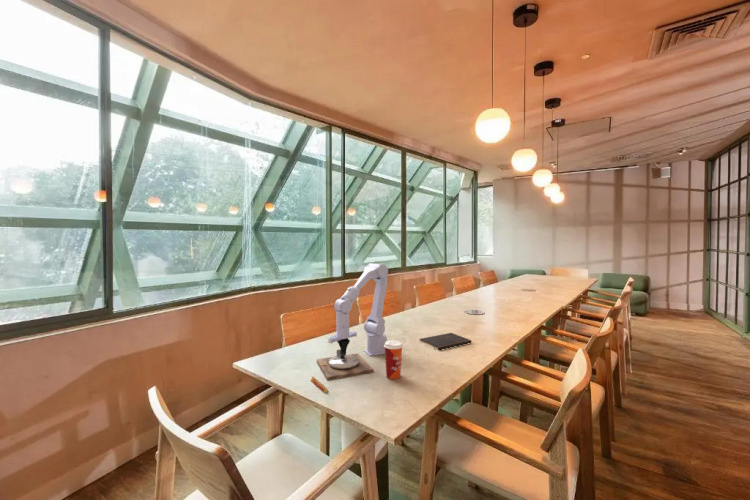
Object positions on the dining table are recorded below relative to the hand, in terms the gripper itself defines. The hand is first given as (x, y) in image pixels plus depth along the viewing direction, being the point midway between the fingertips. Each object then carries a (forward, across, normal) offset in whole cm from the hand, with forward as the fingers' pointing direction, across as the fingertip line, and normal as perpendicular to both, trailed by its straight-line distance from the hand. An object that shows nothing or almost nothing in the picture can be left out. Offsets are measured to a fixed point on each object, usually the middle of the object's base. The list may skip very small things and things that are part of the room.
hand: (343, 354), depth 145 cm
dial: (+2, +3, +4) cm, 5 cm away
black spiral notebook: (+5, -57, +15) cm, 59 cm away
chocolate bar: (+4, +21, +13) cm, 25 cm away
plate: (+3, +3, +4) cm, 6 cm away
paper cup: (+4, -6, +26) cm, 27 cm away
